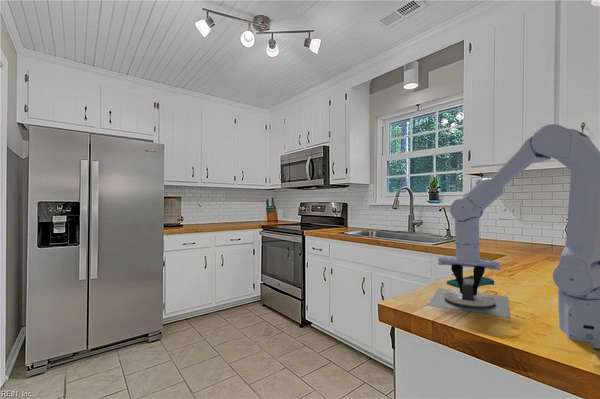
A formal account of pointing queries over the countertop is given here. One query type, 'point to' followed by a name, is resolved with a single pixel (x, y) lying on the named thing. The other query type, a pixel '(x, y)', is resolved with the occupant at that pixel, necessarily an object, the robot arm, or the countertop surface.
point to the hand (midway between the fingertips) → (468, 293)
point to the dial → (469, 296)
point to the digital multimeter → (482, 281)
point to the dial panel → (497, 310)
